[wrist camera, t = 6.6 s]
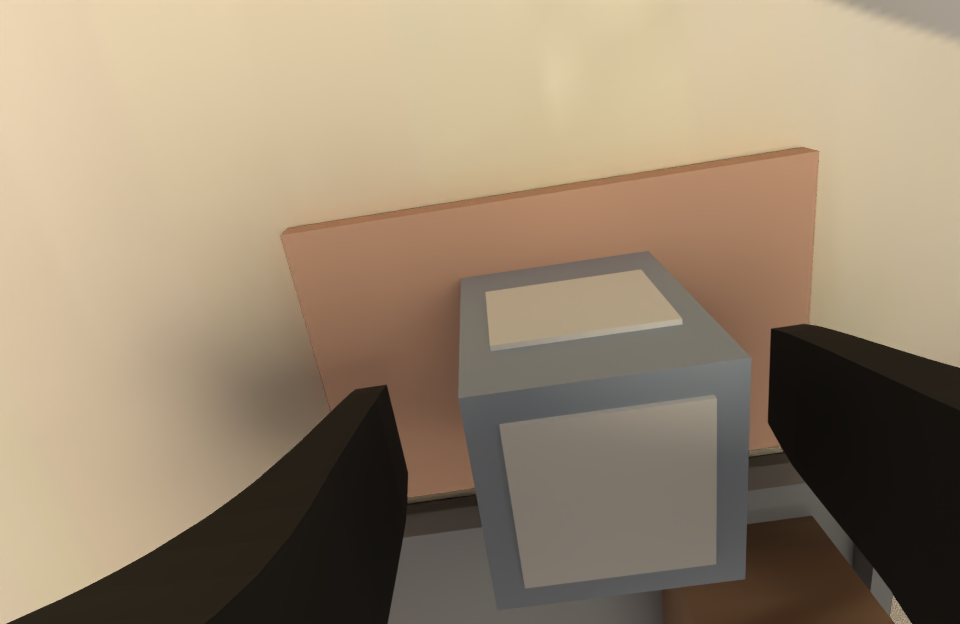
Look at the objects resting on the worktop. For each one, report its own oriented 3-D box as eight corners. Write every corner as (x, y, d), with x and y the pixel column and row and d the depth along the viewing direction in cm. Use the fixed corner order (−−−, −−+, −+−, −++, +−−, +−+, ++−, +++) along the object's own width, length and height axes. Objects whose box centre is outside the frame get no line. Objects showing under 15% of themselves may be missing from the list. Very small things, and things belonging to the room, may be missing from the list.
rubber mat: (803, 147, 13) (819, 150, 12) (789, 429, 15) (801, 443, 15) (287, 228, 13) (280, 235, 12) (361, 488, 16) (357, 504, 15)
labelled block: (648, 246, 13) (754, 354, 8) (654, 411, 14) (747, 584, 10) (460, 273, 13) (457, 395, 8) (487, 435, 14) (498, 615, 10)
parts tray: (879, 439, 15) (911, 468, 14) (854, 648, 18) (879, 686, 17) (282, 522, 16) (268, 556, 15) (349, 712, 19) (341, 752, 18)
